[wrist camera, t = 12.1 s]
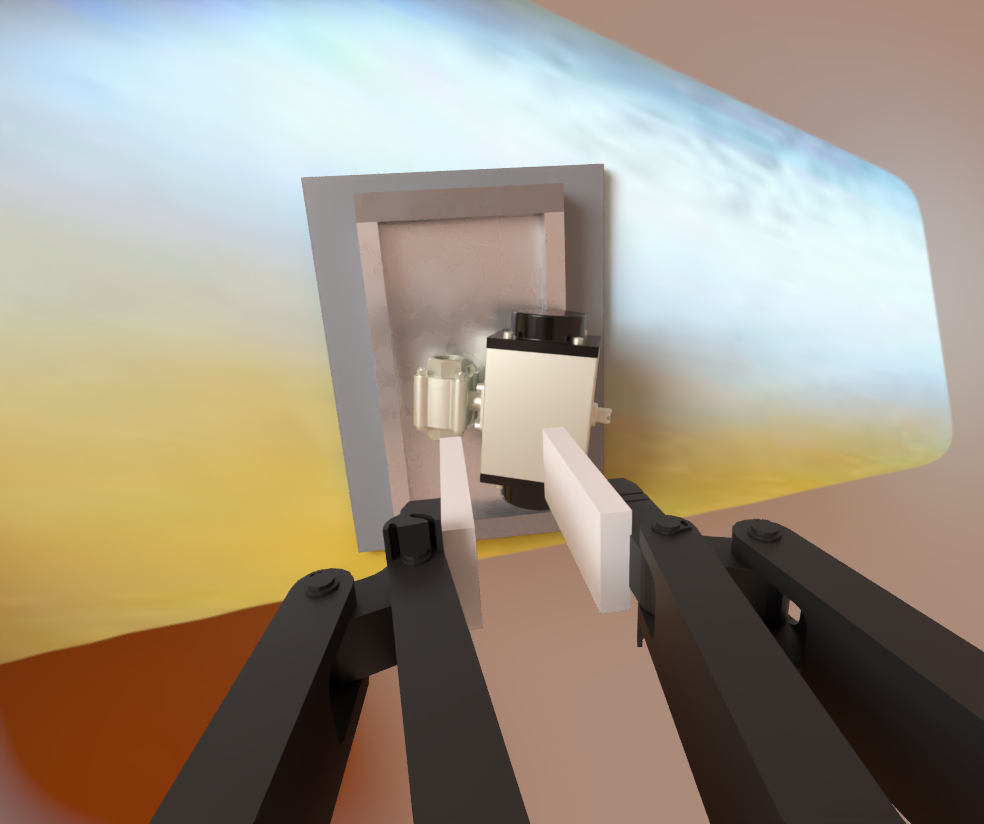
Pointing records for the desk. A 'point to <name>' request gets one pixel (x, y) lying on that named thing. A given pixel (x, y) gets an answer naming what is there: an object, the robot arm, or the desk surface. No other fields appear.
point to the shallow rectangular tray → (453, 314)
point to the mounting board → (349, 312)
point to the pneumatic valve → (517, 397)
